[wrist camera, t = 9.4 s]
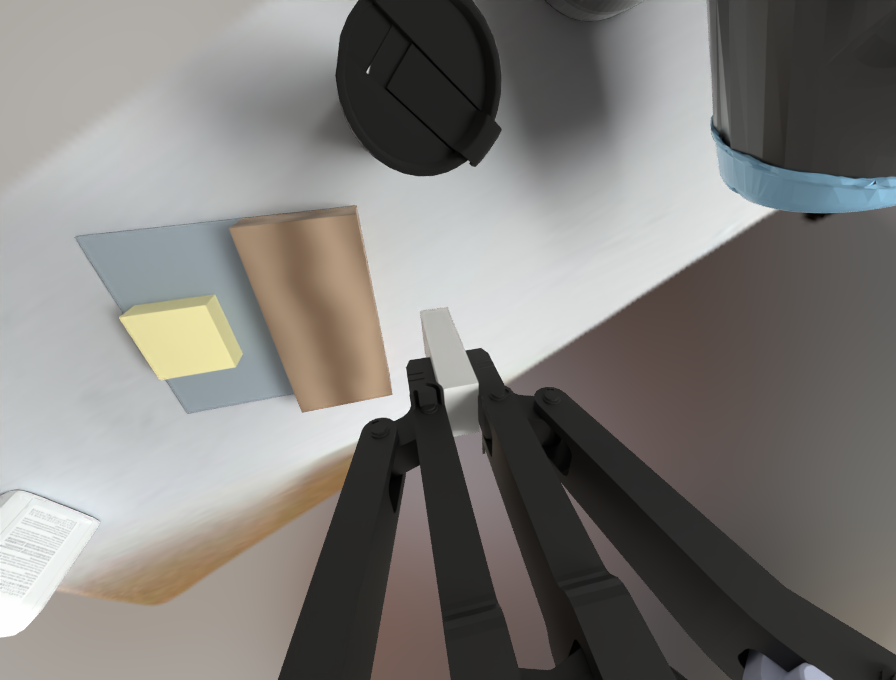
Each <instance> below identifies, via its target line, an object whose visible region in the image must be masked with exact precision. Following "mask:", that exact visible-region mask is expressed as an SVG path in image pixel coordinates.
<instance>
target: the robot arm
mask: <svg viewBox="0 0 896 680" xmlns="http://www.w3.org/2000/svg"><path fill="white" fill-rule="evenodd" d="M546 1H547V2H548V3H549V4H550V5H551V6H552V7H553V8H554V9H556V10H557V11H559V12H560V13H562V14H564V15H566V16H568V17H570V18H573V19H577V20H582V21H598V20H603V19H606V18H610V17H612V16H615V15H617V14H619V13H621V12H624V11H626V10H628V9H630V8H632V7H634V6H636V5H638V4H639V3H641V2H642V1H644V0H546ZM707 16H708V33H709V49H710V65H711V81H712V97H713V115H712V117H711V124H710V125H711V134H712V137H713V139H714V141H715V143H716V148H717V155H718V164H719V171H720V175H721V177H722V179H723V181H724V182H725V184H726V185H727V186H728V187H729V189H731V190H732V191H734V192H736V193H739V194H740V195H741V196H742V197H743V198H744V199H746V200H748V201H750V202H753V203H755V204H759V205H762V206H765V207H769V208H774V209H779V210H786V211H793V212H807V213H840V212H855V211H864V210H871V209H878V208H885V207H890V206H895V205H896V0H707ZM420 315H421V323H422V332H423V340H424V348H425V354H426V358H421V359H415V360H410V361H409V363H408V365H407V367H406V370H407V377H408V384H409V391H410V401H411V408H410V410H409V412H408V413H407V414H406V415H405V416H403V417H402V418H400V419H398V420H396V421H392V420H391V419H389V418H377V419H374V420H372V421H370V422H369V423H368V424H366V425H365V426H364V428H363V430H362V432H361V435H360V438H359V441H358V444H357V447H356V450H355V453H354V456H353V459H352V462H351V465H350V467H349V470H348V473H347V476H346V479H345V482H344V485H343V488H342V491H341V494H340V497H339V500H338V503H337V506H336V509H335V512H334V515H333V518H332V521H331V524H330V527H329V530H328V533H327V536H326V539H325V542H324V544H323V548H322V550H321V553H320V557H319V559H318V562H317V565H316V568H315V571H314V575H313V577H312V580H311V583H310V586H309V589H308V592H307V595H306V598H305V601H304V604H303V607H302V610H301V613H300V616H299V619H298V621H297V624H296V628H295V631H294V633H293V636H292V639H291V642H290V645H289V648H288V651H287V654H286V657H285V660H284V663H283V666H282V669H281V672H280V675H279V678H278V680H370V678H371V673H372V667H373V661H374V655H375V650H376V643H377V638H378V632H379V626H380V621H381V615H382V609H383V603H384V598H385V592H386V586H387V581H388V575H389V569H390V562H391V557H392V551H393V546H394V540H395V535H396V529H397V523H398V517H399V511H400V505H401V499H402V494H403V488H404V483H405V477H406V472H407V471H409V470H411V469H413V468H415V467H417V466H419V465H420V468H421V475H422V482H423V488H424V495H425V501H426V509H427V516H428V523H429V529H430V536H431V544H432V550H433V557H434V564H435V570H436V577H437V584H438V590H439V591H438V592H439V598H440V605H441V612H442V620H443V627H444V635H445V642H446V649H447V656H448V663H449V670H450V677H451V680H687V679H686V678H685V677H684V676H682V675H681V674H680V673H679V672H677V671H676V670H675V669H674V668H672V667H671V666H669V665H668V663H667V661H666V659H665V657H664V656H663V654H662V652H661V650H660V648H659V646H658V645H657V643H656V641H655V639H654V637H653V635H652V634H651V632H650V630H649V628H648V626H647V625H646V623H645V621H644V619H643V617H642V615H641V613H640V612H639V610H638V608H637V606H636V604H635V603H634V601H633V599H632V597H631V595H630V593H629V592H628V590H627V589H626V587H625V586H624V584H623V583H622V582H621V580H620V579H619V578H618V577H616V576H614V575H612V574H610V573H609V572H608V571H607V569H606V568H605V566H604V565H603V562H602V561H601V559H600V557H599V555H598V553H597V551H596V549H595V548H594V545H593V543H592V541H591V540H590V538H589V536H588V534H587V532H586V530H585V528H584V526H583V524H582V522H581V520H580V519H579V517H578V515H577V513H576V511H575V509H574V507H573V505H572V503H571V501H570V499H569V498H568V496H567V494H566V492H565V490H564V488H563V486H562V484H563V485H564V487H565V488H566V489H567V490H568V491H569V493H570V494H571V495H572V496H573V497H574V499H575V500H576V501H577V502H578V503H579V505H580V506H581V507H582V508H583V509H584V511H585V512H586V513H587V514H588V515H589V517H590V518H591V519H592V520H593V521H594V523H595V524H596V525H597V526H598V527H599V528H600V530H601V531H602V532H603V533H604V534H605V536H606V537H607V538H608V539H609V540H610V542H611V543H612V544H613V545H614V546H615V548H616V549H617V550H618V551H619V552H620V554H621V555H622V556H623V557H624V558H625V560H626V561H627V562H628V563H629V564H630V566H631V567H632V568H633V569H634V570H635V571H636V573H637V574H638V575H639V576H640V577H641V579H642V580H643V581H644V582H645V584H646V585H647V586H648V587H649V588H650V590H652V592H653V593H654V594H655V596H656V597H657V598H658V599H659V600H660V602H661V603H662V604H663V605H664V606H665V607H666V609H667V610H668V611H669V612H670V613H671V615H672V616H673V617H674V618H675V619H676V621H677V622H678V623H679V624H680V625H681V627H682V628H683V629H684V630H685V631H686V633H687V634H688V635H689V636H690V637H691V638H692V639H693V641H695V643H696V644H697V645H698V646H699V647H700V648H701V649H702V650H703V652H704V653H705V654H706V655H707V656H708V657H709V658H710V659H711V660H712V661H713V662H714V663H715V664H716V665H717V666H718V667H719V668H720V669H721V670H722V671H723V672H725V674H726V675H727V676H728V677H729V678H731V679H732V680H896V655H895V654H893V653H892V652H890V651H888V650H887V649H885V648H884V647H882V646H880V645H879V644H877V643H876V642H874V641H872V640H870V639H869V638H867V637H866V636H864V635H862V634H861V633H859V632H858V631H856V630H854V629H853V628H851V627H849V626H848V625H846V624H845V623H843V622H841V621H839V620H838V619H836V618H835V617H833V616H831V615H830V614H828V613H827V612H825V611H823V610H822V609H820V608H818V607H817V606H815V605H814V604H812V603H810V602H809V601H807V600H805V599H804V598H802V597H801V596H799V595H797V594H796V593H794V592H792V591H791V590H789V589H787V588H786V587H785V586H784V585H782V584H781V583H780V582H779V581H778V580H777V579H776V578H774V577H773V576H772V575H771V574H769V572H768V571H767V570H765V569H764V568H763V567H762V566H761V565H759V563H757V562H756V561H755V560H754V559H753V558H752V557H751V556H749V555H748V554H747V553H746V552H745V551H744V550H743V549H742V548H740V547H739V546H738V545H737V544H736V543H735V542H734V541H732V540H731V539H730V538H729V537H728V536H727V535H726V534H724V533H723V532H722V531H721V530H720V529H719V528H717V527H716V526H715V525H714V524H713V523H712V522H711V521H710V520H709V519H707V518H706V517H705V516H704V515H703V514H702V513H701V512H700V511H698V510H697V509H696V508H695V507H694V506H693V505H692V504H690V503H689V502H688V501H687V500H686V499H685V498H684V497H682V496H681V495H680V494H679V493H678V492H677V491H676V490H675V489H673V488H672V487H671V486H670V485H669V484H668V483H667V482H665V481H664V480H663V479H662V478H661V477H660V476H659V475H657V474H656V473H655V472H654V471H653V470H652V469H651V468H649V467H648V466H647V465H646V464H645V463H644V462H643V461H642V460H640V459H639V458H638V457H637V456H636V455H635V454H634V453H633V452H631V451H630V450H629V449H628V448H627V447H625V445H623V444H622V443H621V442H620V441H619V440H618V439H617V438H615V437H614V436H613V435H612V434H611V433H610V432H609V431H608V430H606V429H605V428H604V427H603V426H602V425H600V423H598V422H597V421H596V420H595V419H594V418H593V417H592V416H590V415H589V414H588V413H587V412H586V411H585V410H584V409H582V408H581V407H580V406H579V405H578V404H577V403H576V402H575V401H573V400H572V399H571V398H570V397H569V396H568V395H567V394H566V393H564V392H563V391H561V390H560V389H556V388H553V387H545V388H541V389H539V390H537V391H536V393H535V395H534V396H523V395H518V394H515V393H513V391H512V390H511V389H510V388H508V387H507V386H505V385H504V383H503V381H502V379H501V377H500V375H499V374H498V372H497V370H496V368H495V366H494V364H493V362H492V360H491V358H490V356H489V354H488V353H487V352H486V351H484V350H483V349H482V348H478V349H472V350H466V351H465V349H464V347H463V344H462V342H461V339H460V337H459V335H458V332H457V330H456V327H455V325H454V322H453V320H452V318H451V315H450V313H449V310H448V308H447V307H444V308H437V309H430V310H423V311H420ZM479 424H480V427H481V430H482V450H483V454H484V453H485V450H486V453H487V456H488V458H489V461H490V464H491V467H492V470H493V473H494V476H495V479H496V482H497V485H498V488H499V490H500V493H501V496H502V499H503V502H504V505H505V508H506V511H507V514H508V516H509V519H510V522H511V525H512V528H513V531H514V534H515V536H516V540H517V542H518V545H519V548H520V551H521V554H522V557H523V560H524V563H525V566H526V568H527V572H528V574H529V577H530V580H531V583H532V586H533V589H534V592H535V595H536V598H537V600H538V603H539V606H540V609H541V612H542V615H543V618H544V621H545V624H546V627H547V632H548V639H549V644H550V648H551V653H552V656H553V659H554V663H555V666H556V667H555V668H553V669H551V670H537V669H525V668H518V664H517V661H516V657H515V653H514V650H513V646H512V642H511V639H510V635H509V631H508V628H507V624H506V621H505V617H504V615H503V612H502V609H501V607H500V605H499V603H498V601H497V598H496V595H495V591H494V588H493V584H492V581H491V577H490V572H489V569H488V565H487V562H486V557H485V554H484V550H483V546H482V543H481V539H480V535H479V531H478V527H477V524H476V520H475V516H474V512H473V508H472V505H471V501H470V498H469V493H468V490H467V486H466V483H465V478H464V475H463V471H462V467H461V463H460V460H459V456H458V452H457V448H456V445H455V441H454V437H455V436H460V435H465V434H471V433H476V432H479ZM561 483H562V484H561Z"/></svg>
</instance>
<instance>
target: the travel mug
mask: <svg viewBox="0 0 896 680" xmlns="http://www.w3.org/2000/svg"><path fill="white" fill-rule="evenodd" d="M336 82H337V89H338V96H339V99H340V103H341V107H342V110H343V113H344V116H345V119H346V121H347V123H348V125H349V127H350V129H351V131H352V133H353V134H354V135H355V137H356V138H357V139H358V141H359V142H360V144H361V145H362V146H363V147H364V148H365V149H366V150H367V151H368V152H369V153H370V154H371V155H372V156H373V157H375V158H376V159H377V160H379V161H380V162H382V163H383V164H385V165H386V166H388V167H389V168H392V169H394V170H397V171H399V172H401V173H404V174H409V175H414V176H435V175H439V174H442V173H446V172H449V171H451V170H453V169H455V168H457V167H458V166H460V165H461V164H463V163H464V162H466V161H470V163H469V164H470V165H471V166H474V167H476V166H477V165H478V164H479V163H480V162H481V161H482V159H483V158H484V157H485V155H486V154H487V153H488V151H489V150H490V148H491V147H492V146H493V144H494V143H495V141H496V140H497V138H498V136H499V134H500V132H501V130H502V129H501V127H500V126H499V125H498V124H497V123H496V122H495V117H496V114H497V110H498V106H499V100H500V95H501V70H500V61H499V55H498V51H497V48H496V44H495V41H494V37H493V35H492V33H491V30H490V28H489V26H488V24H487V22H486V20H485V18H484V16H483V15H482V14H481V12H480V11H479V9H478V8H477V7H476V5H475V4H474V2H473V1H472V0H358V2H357V3H356V5H355V6H354V8H353V9H352V11H351V12H350V14H349V15H348V17H347V20H346V22H345V25H344V27H343V30H342V32H341V35H340V42H339V50H338V59H337V68H336Z"/></svg>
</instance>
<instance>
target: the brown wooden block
mask: <svg viewBox="0 0 896 680" xmlns="http://www.w3.org/2000/svg"><path fill="white" fill-rule="evenodd" d="M229 230H230V232H231V235H232V237H233V240H234V242H235V245H236V247H237V250H238V253H239V255H240V258H241V260H242V263H243V265H244V268H245V270H246V273H247V275H248V278H249V280H250V283H251V285H252V288H253V290H254V293H255V295H256V298H257V300H258V303H259V305H260V308H261V310H262V313H263V315H264V318H265V321H266V323H267V326H268V328H269V331H270V333H271V336H272V338H273V341H274V343H275V346H276V348H277V351H278V353H279V356H280V358H281V361H282V363H283V366H284V368H285V371H286V373H287V376H288V378H289V381H290V383H291V386H292V389H293V391H294V394H295V396H296V399H297V401H298V404H299V406H300V409H301V411H302V413H303V412H308V411H313V410H318V409H323V408H328V407H333V406H338V405H343V404H348V403H354V402H359V401H364V400H369V399H374V398H379V397H384V396H389V395H392V389H391V381H390V374H389V369H388V364H387V359H386V354H385V349H384V344H383V338H382V333H381V328H380V323H379V318H378V313H377V308H376V303H375V298H374V293H373V287H372V282H371V277H370V272H369V267H368V262H367V257H366V252H365V247H364V242H363V236H362V231H361V226H360V221H359V216H358V211H357V206H349V207H340V208H330V209H321V210H312V211H303V212H294V213H285V214H275V215H266V216H257V217H248V218H242V219H241V220H240V221H238V222H237V223H236V224H234V225H233V226H232V227H230V228H229Z"/></svg>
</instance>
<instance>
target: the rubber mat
mask: <svg viewBox="0 0 896 680" xmlns="http://www.w3.org/2000/svg"><path fill="white" fill-rule="evenodd" d="M241 219H242V218H239V219H230V220H220V221H211V222H202V223H193V224H184V225H174V226H165V227H156V228H147V229H138V230H129V231H119V232H110V233H101V234H92V235H83V236H76V237H75V238H76V240H77V242H78V243H79V245H80V246H81V248H82V249H83V251H84V253H85V254H86V256H87V257H88V259H89V260H90V262H91V263H92V265H93V267H94V268H95V270H96V271H97V273H98V274H99V276H100V278H101V279H102V281H103V282H104V284H105V285H106V287H107V288H108V290H109V292H110V293H111V295H112V296H113V298H114V299H115V301H116V303H117V304H118V306H119V307H120V309H121V310H122V312H123V313H125V312H127V311H128V310H129V309H130V308H132V307H133V306H135V305H142V304H149V303H156V302H163V301H171V300H178V299H185V298H192V297H199V296H206V295H213V294H215V295H216V297H217V300H218V302H219V304H220V306H221V308H222V310H223V312H224V315H225V317H226V319H227V321H228V323H229V325H230V328H231V330H232V332H233V334H234V336H235V338H236V340H237V343H238V345H239V347H240V349H241V351H242V353H243V355H242V357H241V358H240V360H239V362H238V364H237V366H236V367H235V368H229V369H223V370H217V371H211V372H206V373H200V374H194V375H188V376H182V377H177V378H171V379H166V381H167V382H168V384H169V385H170V387H171V388H172V390H173V392H174V393H175V395H176V396H177V398H178V399H179V401H180V402H181V404H182V406H183V407H184V409H185V410H186V412H187V413H188V414H189V413H194V412H200V411H205V410H210V409H216V408H221V407H226V406H232V405H237V404H242V403H248V402H253V401H258V400H264V399H269V398H274V397H280V396H285V395H290V394H294V391H293V389H292V386H291V383H290V381H289V378H288V376H287V373H286V371H285V368H284V366H283V363H282V361H281V358H280V356H279V353H278V351H277V348H276V346H275V343H274V341H273V338H272V336H271V333H270V331H269V328H268V326H267V323H266V321H265V318H264V315H263V313H262V310H261V308H260V305H259V303H258V300H257V298H256V295H255V293H254V290H253V288H252V285H251V283H250V280H249V278H248V275H247V273H246V270H245V268H244V265H243V263H242V260H241V258H240V255H239V253H238V250H237V247H236V245H235V242H234V240H233V237H232V235H231V232H230V230H229V228H230V227H232V226H233V225H234V224H236V223H237V222H238V221H240V220H241Z"/></svg>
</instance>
